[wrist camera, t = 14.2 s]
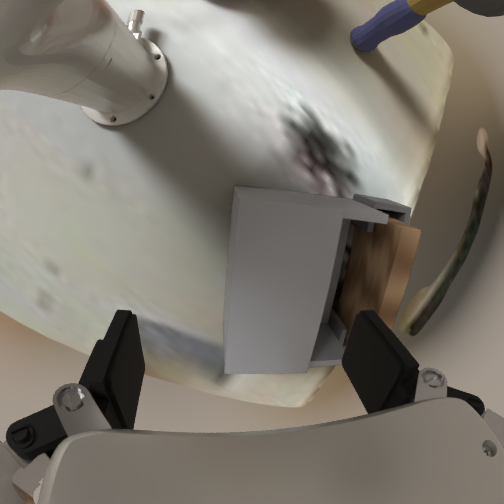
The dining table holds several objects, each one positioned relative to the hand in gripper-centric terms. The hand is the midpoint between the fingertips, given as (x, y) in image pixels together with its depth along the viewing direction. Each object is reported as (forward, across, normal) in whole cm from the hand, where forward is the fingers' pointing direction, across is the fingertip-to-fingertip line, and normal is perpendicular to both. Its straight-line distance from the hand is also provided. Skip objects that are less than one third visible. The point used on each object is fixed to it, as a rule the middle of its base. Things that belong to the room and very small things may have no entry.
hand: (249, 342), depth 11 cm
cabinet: (+26, -12, +8) cm, 30 cm away
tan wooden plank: (+26, -20, +8) cm, 34 cm away
